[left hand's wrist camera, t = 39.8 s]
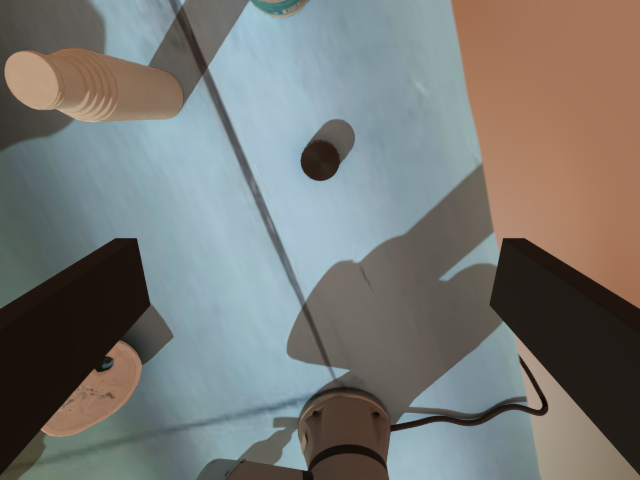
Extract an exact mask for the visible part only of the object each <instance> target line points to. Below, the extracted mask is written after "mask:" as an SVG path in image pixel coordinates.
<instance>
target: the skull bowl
mask: <svg viewBox="0 0 640 480" xmlns="http://www.w3.org/2000/svg"><path fill="white" fill-rule="evenodd" d="M106 356H108V357H111V358H113V360H114V364H113V366H112V367H111V368H110V369H109V370H106V371H103V372H97V371H96V370H95V369H94V370H93V371H92V372H91V373H90V374H89V375H88V376H87V378H86V379H85V380H84V381H83V382H82V383H81V384H80V386H79V387H78V388H77V389H76V390H75V391H74V392H73V393H72V395H71V396H70V397H69V398H68V399H67V400H66V401H65V403H64V404H63V405H62V406H61V407H60V408H59V409H58V410H57V412H56V413H55V414H54V415H53V416H52V417H51V418H50V420H49V421H48V422H47V423H46V424H45V425H44V426H43V427H42V429H41V430H42V431H43V432H45V433H47V434H49V435H51V436H70V435H74V434H76V433H79V432H81V431H83V430H85V429H86V428H88V427H90V426H92V425H94V424H96V423H98V422H100V421H102V420H103V419H105V418H107V417H108V416H110V415H111V414H113V413H114V412H116V411H117V410H118V409H119V408H120V407H121V406H123V405H124V404H125V403H126V401H127V400H128V399H129V397H130V396H131V395H132V393H133V391H134V389H135V388H136V386H137V384H138V382H139V379H140V376H141V372H142V364H141V361H140V358H139V356H138V354H137V352H136V351H135V350H134V349H133V348H132V347H131V346H130V345H128V344H127V343H125V342H123V341H121V340H119V341H118V342H117V344H116V345H115V346H114V347H113V348H112V349H111V350H110V351H109V353H108V354H107V355H106ZM102 381H103V382H102ZM111 393H112V394H111ZM114 398H115V399H114Z"/></svg>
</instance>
